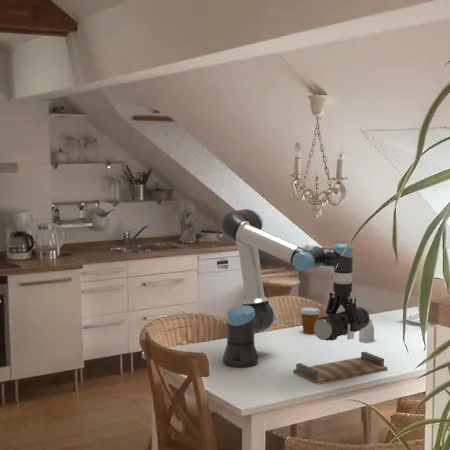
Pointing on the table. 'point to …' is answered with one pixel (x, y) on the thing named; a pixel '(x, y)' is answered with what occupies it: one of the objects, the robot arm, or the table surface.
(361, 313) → the muzzle brake
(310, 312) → the disposable coffee cup
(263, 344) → the table surface
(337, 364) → the mounting board
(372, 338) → the grey paper bag
